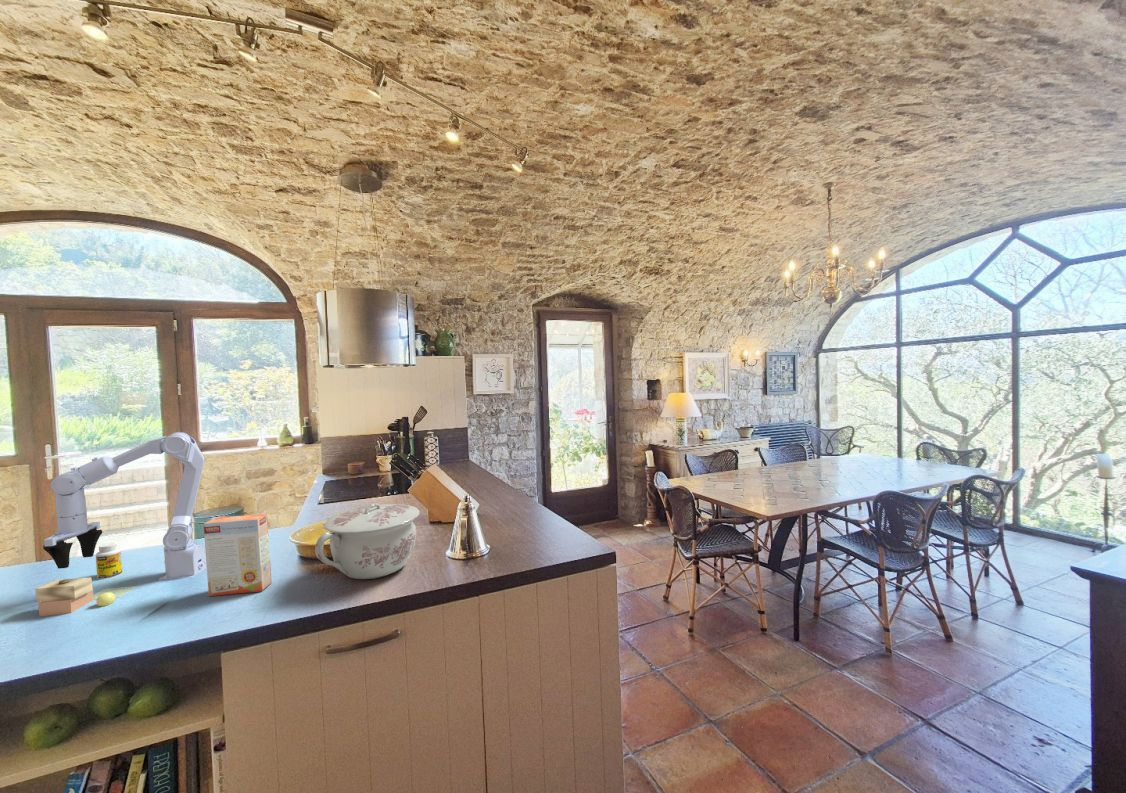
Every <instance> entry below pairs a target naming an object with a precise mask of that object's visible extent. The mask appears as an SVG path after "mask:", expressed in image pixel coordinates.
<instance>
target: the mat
mask: <svg viewBox="0 0 1126 793" xmlns="http://www.w3.org/2000/svg"><path fill="white" fill-rule="evenodd" d="M138 587H139V585H132V586H122V587H111V588H110V587H109V588H103V589H101V590H100V591H97V592H96V593H93V597H94V600H95V601H97V598H98V597H99V596H100V595H101V594H103V593H106V592H111V593H113V594H114V595H115V599H118V598H122V597H123V596H125V595H126V594H127V593H129V592H131V591H133V590H134V589H137V588H138ZM94 600H93V601H94Z"/></svg>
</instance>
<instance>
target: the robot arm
mask: <svg viewBox="0 0 1126 793" xmlns="http://www.w3.org/2000/svg"><path fill="white" fill-rule="evenodd" d="M162 454H167V455H169V456H171V457H173V458H176V459H177V460H178V461H179V462H180V463H181V464H183V465H184V467H183V472H182V477H181V480H180V484H179V489H178V494H177V499H176V501H175V507H174V511H173V516H172V519H171V522H170V525H169V527H168V529H167V531H166V533H165V534H164V536H163V538H162V544H163V545H164V547H163V555H164V556H163V557H164V568H165V575H164V576H162V577H160V578H158V581H163V580H174V579H185V578H192V577H194V576H196V575H197V574H199V573H200V572H203V571H204V570H206V569H207V565H206V551H205V545H201V544H195V540H193V539H192V538H191V536H192V534H193V532H194V528H193V525H192V520H193V513H194V508H195V505H196V499H197V495H198V491H199V487H200V482H201V478H202V474H203V469H204V464H205V460H206V459H205V457H204V455H203V453H202V451H201V449H200V448H199V445H198V444H197V441H196V440H195V439H194V438H193V437H192V436H191V435H189V434H188V433H186V432H184V431H176V432H173V433H171V434H170V435H168V436H167V435H163V436H160V437H158V438H154V439H150V440H149V441H146V442H145V443H142V444H140V445H138V446H135V447H134V448H131V449H128V450H127V451H125V452H122V453H120V454H118V455H116V456H113V457H109V456H100V457H99V456H96V457H94V458H91V461H89V462H87V463H85V464H83V465H79V466H78V467H77V466H73V467H71V468H70V471H65V472H64V473H60V474H59V475H58V476H56V477H54V479H53V480H52V481H51V483H50V488H51V491H53V492H54V495H55V501H54V502H55V511H56V521H57V531H55V532H54V533H53V535H51V536H49V537H47V538H44V539H43V542H44V545H43V546H42V547H43V550H44V551H45V552H46V553H47V554H48V555H49V556H50V557H51V558H52V559H53V561H54V563H55V565H56V567H57V569H60V570H61V569H67V568H69V566H70V554H71V548H72V545H73V542H67V540H70V539H72V538H76V539H77V541H78V542H79V545H80V550H81V551H80V552H81V555H82V558H92V557H94V555H95V554H94V553H95V549H96V546H97V543H98V540H99V539H100V537H101V535H102V534H103V529H101V524H100V523H101V522H100V521H92V522H89V521H88V513H87V512H88V511H87V502H86V501H87V500H86V495H85V486H90V485H93V484H95V483H98V482H100V481H102V480H105V479H106V478H109V477H110V476H114V475H115V474H117V472H118V470H119V468H120V467H122V466H125V465H126V464H129V463H131V462H134V461H136V460H138V459H142V458H143V457H146V456H148V455H162ZM88 522H89V523H88Z"/></svg>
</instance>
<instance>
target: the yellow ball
mask: <svg viewBox="0 0 1126 793" xmlns="http://www.w3.org/2000/svg"><path fill="white" fill-rule="evenodd" d="M115 600H116V598H115V595H114V594H113V593H111V592H106V593H103V594H101V595H100V596H99V597H98V598H97V600H95V601H96V605H97V606H98V607H105V606H109V605H111V604H113V603H115Z"/></svg>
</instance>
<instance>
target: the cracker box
mask: <svg viewBox="0 0 1126 793" xmlns="http://www.w3.org/2000/svg"><path fill="white" fill-rule="evenodd" d="M268 523H269V522H268V514H267V513H260V514H259V513H258V514H248V515H247V514H246V515H233V516H219V517H214V518H212V519H210V520H208V521H206V522H204V523H203V532H204V533H203V535H204V537H203V538H204V548H205V553H206V566H207V568H206V578H207V589H208V597H214V596H225V595H236V594H246V593H248V594H249V593H259V592H263V591H264V590H265V589H267V587H269V586H270V585H271V584H272V583H273V582H272V567H271V565H272V564H271V554H270V553H271V552H270V538H269V525H268Z"/></svg>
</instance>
